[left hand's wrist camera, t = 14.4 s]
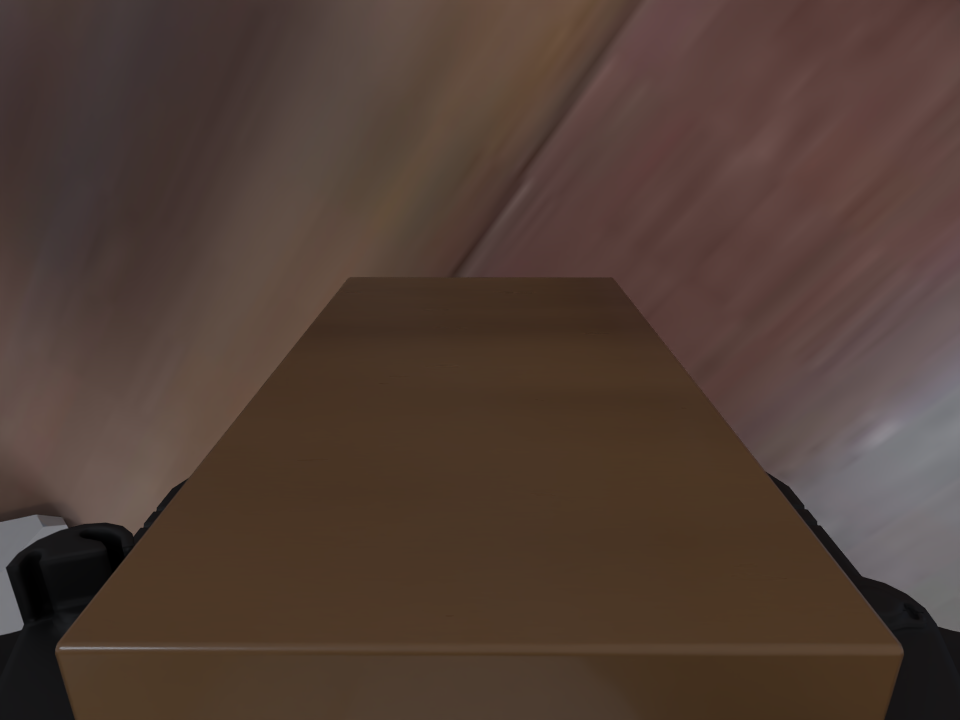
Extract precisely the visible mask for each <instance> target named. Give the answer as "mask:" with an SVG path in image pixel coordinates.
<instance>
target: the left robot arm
mask: <svg viewBox="0 0 960 720" xmlns="http://www.w3.org/2000/svg"><path fill="white" fill-rule="evenodd" d="M766 473H767V472H766ZM767 474H768V473H767ZM768 476H769V477H770V478H771V479H772V481H773V482H774V483H775V485H776V486H777V487H778V488H779V490H780V491H781V492H782V493H783V495H784V496H785V497H786V499H787V500H788V501H789V502H790V504H791V505H792V506H793V507H794V509H795V510H796V511H797V512H798V514H799V515H800V516H801V518H802V519H803V520H804V521H805V523H806V524H807V525H808V526H809V528H810V529H811V530H812V532H813V533H814V534H815V535H816V537H817V538H818V539H819V540H820V542H821V543H822V544H823V546H824V547H825V548H826V549H827V551H828V552H829V553H830V554H831V556H832V557H833V558H834V560H835V561H836V562H837V563H838V565H839V566H840V567H841V568H842V570H843V571H844V572H845V573H846V575H847V576H848V577H849V579H850V580H851V581H852V582H853V584H854V585H855V586H856V587H857V589H858V590H859V591H860V593H861V594H862V595H863V596H864V598H865V599H866V600H867V601H868V603H869V604H870V605H871V607H872V608H873V609H874V610H875V612H876V613H877V614H878V615H879V617H880V618H881V619H882V621H883V622H884V623H885V624H886V626H887V627H888V628H889V629H890V631H891V632H892V633H893V634H894V636H895V637H896V638H897V640H898V641H899V642H900V643H901V645H902V648H903V652H904V657H903V660H902V663H901V667H900V670H899V673H898V677H897V680H896V683H895V687H894V690H893V693H892V697H891V700H890V703H889V706H888V710H887V713H886V716H885V720H960V632H956V631H952V630H948V629H944V628H941V627H937V624H936V623H935V621H934V620H933V619H932V617H931V616H930V614H929V613H928V612H927V610H926V609H925V608H924V607H923V606H921V605H920V604H919V603H918V602H916V601H915V600H914V599H912V598H911V597H910V596H909V595H907V594H906V593H904V592H902V591H900V590H898V589H895V588H893V587H891V586H889V585H887V584H885V583H882V582H879V581H875V580H872V579H868V578H865V577H862V576H861V575H860V574H859V572H858V571H857V570H856V569H855V567H854V566H853V565H852V564H851V563H850V561H849V560H848V559H847V558H846V556H845V555H844V554H843V553H842V551H841V550H840V549H839V548H838V547H837V545H836V544H835V543H834V542H833V540H832V539H831V538H830V537H829V535H828V534H827V533H826V532H825V530H824V529H823V528H822V527H821V526H818V525H817V521H816V519H815V518H814V517H813V516H812V514H811V513H810V512H809V511H808V510H807V509H804V505H803V503H802V502H801V501H800V500H799V498H798V497H797V496H796V495H795V494H794V492H793V491H792V490H791V489H790V487H789V486H787V485H786V484H784V483H782V482H781V481H779V480H778V479H776V478H775V477H773V476H772V475H770V474H768ZM188 479H189V478H188ZM188 479H186V480H185V481H183V482H182V483H180V484H179V485H177V486H176V487H174V488H173V489H172V490H171V491H170V492H169V493H168V495H167V496H166V497H165V498H164V499H163V501H162V502H161V503H160V504H159V506H158V507H157V511H156V512H153V513H152V514H151V516H150V517H149V518H148V519H147V521H146V522H145V523H144V528H140V529H139V530H138V532H137V533H136V534H135V535H134V537H133V534H132V533H131V532H129V531H128V530H127V529H126V528H124V527H123V526H120V525H115V524H110V523H94V524H83V525H79V526H75V527H71V528H67V529H63V530H60V531H57V532H55V533H53V534H50V535H48V536H46V537H44V538H41V539H39V540H37V541H35V542H34V543H32V544H31V545H29V546H28V547H26V548H25V549H23V550H22V551H21V552H19V553H18V554H17V555H16V556H15V557H14V558H13V560H12V561H11V562H10V563H9V564H8V565H7V567H6V570H7V574H8V577H9V580H10V583H11V586H12V589H13V592H14V595H15V598H16V601H17V604H18V608H19V611H20V614H21V617H22V620H23V623H24V626H23V628H22V630H19V631H16V632H12V633H8V634H4V635H0V720H75V718H74V715H73V712H72V708H71V705H70V702H69V698H68V695H67V692H66V689H65V685H64V682H63V679H62V675H61V672H60V669H59V665H58V662H57V659H56V655H55V649H56V646H57V643H58V642H59V641H60V639H61V638H62V637H63V636H64V634H65V633H66V632H67V630H68V629H69V628H70V627H71V625H72V624H73V623H74V622H75V620H76V619H77V618H78V617H79V615H80V614H81V613H82V612H83V610H84V609H85V608H86V607H87V605H88V604H89V603H90V602H91V600H92V599H93V598H94V597H95V595H96V594H97V593H98V592H99V590H100V589H101V588H102V587H103V585H104V584H105V583H106V582H107V580H108V579H109V578H110V577H111V575H112V574H113V573H114V572H115V570H116V569H117V568H118V567H119V565H120V564H121V563H122V561H123V560H124V559H125V558H126V556H127V555H128V554H129V553H130V551H131V550H132V549H133V548H134V546H135V545H136V544H137V543H138V541H139V540H140V539H141V538H142V536H143V535H144V534H145V533H146V531H147V530H148V529H149V528H150V526H151V525H152V524H153V523H154V521H155V520H156V519H157V518H158V516H159V515H160V514H161V513H162V511H163V510H164V509H165V508H166V506H167V505H168V504H169V503H170V501H171V500H172V499H173V498H174V496H175V495H176V494H177V492H178V491H179V490H180V489H181V487H182V486H183V485H184V484H185V482H186V481H187V480H188Z"/></svg>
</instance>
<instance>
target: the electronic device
mask: <svg viewBox="0 0 960 720" xmlns="http://www.w3.org/2000/svg"><path fill="white" fill-rule="evenodd" d="M67 528H68V527H67V525H66V523H65V521H64V520H63V518H62V517H56V516H46V515H32V516H27V517H23V518H18V519H13V520H8V521H3V522H0V635H4V634H8V633H12V632H16V631H19V630H22V628H23V626H24V623H23V620H22V617H21V614H20V611H19V608H18V604H17V601H16V598H15V595H14V592H13V589H12V586H11V583H10V580H9V577H8V574H7V570H6V567H7V565H8V564H9V563H10V562H11V561H12V560H13V558H14V557H15V556H16V555H17V554H18V553H19V552H21V551H22V550H23V549H25V548H26V547H28V546H29V545H31V544H32V543H34V542H35V541H37V540H39V539H41V538H44V537H46V536H48V535H50V534H53V533H55V532H57V531H60V530H63V529H67Z"/></svg>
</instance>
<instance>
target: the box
mask: <svg viewBox="0 0 960 720" xmlns="http://www.w3.org/2000/svg"><path fill="white" fill-rule="evenodd" d="M55 655H56V659H57V662H58V665H59V669H60V672H61V675H62V679H63V682H64V685H65V689H66V692H67V695H68V698H69V702H70V705H71V708H72V712H73V715H74V718H75V720H885V716H886V713H887V710H888V706H889V703H890V700H891V697H892V693H893V690H894V687H895V683H896V680H897V677H898V673H899V670H900V667H901V663H902V660H903V657H904V652H903V648H902V645H901V643H900V642H899V641H898V640H897V638H896V637H895V636H894V634H893V633H892V632H891V631H890V629H889V628H888V627H887V626H886V624H885V623H884V622H883V621H882V619H881V618H880V617H879V615H878V614H877V613H876V612H875V610H874V609H873V608H872V607H871V605H870V604H869V603H868V601H867V600H866V599H865V598H864V596H863V595H862V594H861V593H860V591H859V590H858V589H857V587H856V586H855V585H854V584H853V582H852V581H851V580H850V579H849V577H848V576H847V575H846V573H845V572H844V571H843V570H842V568H841V567H840V566H839V565H838V563H837V562H836V561H835V560H834V558H833V557H832V556H831V554H830V553H829V552H828V551H827V549H826V548H825V547H824V546H823V544H822V543H821V542H820V540H819V539H818V538H817V537H816V535H815V534H814V533H813V532H812V530H811V529H810V528H809V526H808V525H807V524H806V523H805V521H804V520H803V519H802V518H801V516H800V515H799V514H798V512H797V511H796V510H795V509H794V507H793V506H792V505H791V504H790V502H789V501H788V500H787V499H786V497H785V496H784V495H783V493H782V492H781V491H780V490H779V488H778V487H777V486H776V485H775V483H774V482H773V481H772V479H771V478H770V477H769V476H768V474H767V473H766V472H765V471H764V469H763V468H762V467H761V465H760V464H759V463H758V462H757V460H756V459H755V458H754V457H753V455H752V454H751V453H750V451H749V450H748V449H747V448H746V446H745V445H744V444H743V443H742V441H741V440H740V439H739V438H738V436H737V435H736V434H735V432H734V431H733V430H732V429H731V427H730V426H729V425H728V424H727V422H726V421H725V420H724V418H723V417H722V416H721V415H720V413H719V412H718V411H717V410H716V408H715V407H714V406H713V404H712V403H711V402H710V401H709V399H708V398H707V397H706V396H705V394H704V393H703V392H702V391H701V389H700V388H699V387H698V385H697V384H696V383H695V382H694V380H693V379H692V378H691V377H690V375H689V374H688V373H687V371H686V370H685V369H684V368H683V366H682V365H681V364H680V363H679V361H678V360H677V359H676V357H675V356H674V355H673V354H672V352H671V351H670V350H669V349H668V347H667V346H666V345H665V343H664V342H663V341H662V340H661V338H660V337H659V336H658V335H657V333H656V332H655V331H654V330H653V328H652V327H651V326H650V324H649V323H648V322H647V321H646V319H645V318H644V317H643V316H642V314H641V313H640V312H639V310H638V309H637V308H636V307H635V305H634V304H633V303H632V302H631V300H630V299H629V298H628V296H627V295H626V294H625V293H624V291H623V290H622V289H621V288H620V286H619V285H618V284H617V282H616V281H615V280H614V279H613V278H392V277H350V278H348V279H347V280H346V282H345V283H344V284H343V286H342V287H341V288H340V289H339V291H338V292H337V293H336V294H335V296H334V297H333V298H332V299H331V301H330V302H329V303H328V304H327V306H326V307H325V308H324V309H323V311H322V312H321V313H320V314H319V316H318V317H317V318H316V319H315V321H314V322H313V323H312V324H311V326H310V327H309V328H308V329H307V331H306V332H305V333H304V334H303V336H302V337H301V338H300V339H299V341H298V342H297V343H296V344H295V346H294V347H293V348H292V349H291V351H290V352H289V353H288V355H287V356H286V357H285V358H284V360H283V361H282V362H281V363H280V365H279V366H278V367H277V368H276V370H275V371H274V372H273V373H272V375H271V376H270V377H269V378H268V380H267V381H266V382H265V383H264V385H263V386H262V387H261V388H260V390H259V391H258V392H257V393H256V395H255V396H254V397H253V398H252V400H251V401H250V402H249V403H248V405H247V406H246V407H245V408H244V410H243V411H242V412H241V413H240V415H239V416H238V417H237V418H236V420H235V421H234V422H233V423H232V425H231V426H230V427H229V429H228V430H227V431H226V432H225V434H224V435H223V436H222V437H221V439H220V440H219V441H218V442H217V444H216V445H215V446H214V447H213V449H212V450H211V451H210V452H209V454H208V455H207V456H206V457H205V459H204V460H203V461H202V462H201V464H200V465H199V466H198V467H197V469H196V470H195V471H194V472H193V474H192V475H191V476H190V477H189V479H188V480H187V481H186V482H185V484H184V485H183V486H182V487H181V489H180V490H179V491H178V492H177V494H176V495H175V496H174V498H173V499H172V500H171V501H170V503H169V504H168V505H167V506H166V508H165V509H164V510H163V511H162V513H161V514H160V515H159V516H158V518H157V519H156V520H155V521H154V523H153V524H152V525H151V526H150V528H149V529H148V530H147V531H146V533H145V534H144V535H143V536H142V538H141V539H140V540H139V541H138V543H137V544H136V545H135V546H134V548H133V549H132V550H131V551H130V553H129V554H128V555H127V556H126V558H125V559H124V560H123V561H122V563H121V564H120V565H119V567H118V568H117V569H116V570H115V572H114V573H113V574H112V575H111V577H110V578H109V579H108V580H107V582H106V583H105V584H104V585H103V587H102V588H101V589H100V590H99V592H98V593H97V594H96V595H95V597H94V598H93V599H92V600H91V602H90V603H89V604H88V605H87V607H86V608H85V609H84V610H83V612H82V613H81V614H80V615H79V617H78V618H77V619H76V620H75V622H74V623H73V624H72V625H71V627H70V628H69V629H68V630H67V632H66V633H65V634H64V636H63V637H62V638H61V639H60V641H59V642H58V643H57V646H56V649H55Z"/></svg>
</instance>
